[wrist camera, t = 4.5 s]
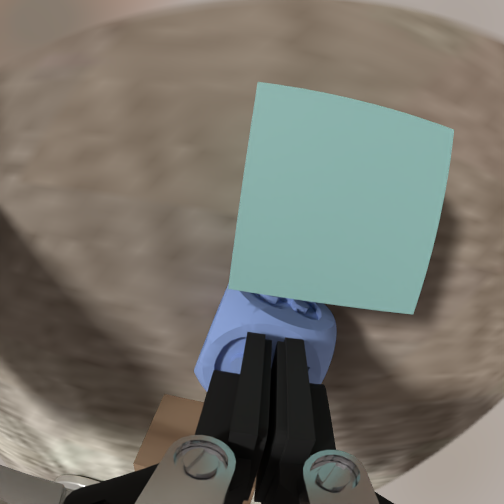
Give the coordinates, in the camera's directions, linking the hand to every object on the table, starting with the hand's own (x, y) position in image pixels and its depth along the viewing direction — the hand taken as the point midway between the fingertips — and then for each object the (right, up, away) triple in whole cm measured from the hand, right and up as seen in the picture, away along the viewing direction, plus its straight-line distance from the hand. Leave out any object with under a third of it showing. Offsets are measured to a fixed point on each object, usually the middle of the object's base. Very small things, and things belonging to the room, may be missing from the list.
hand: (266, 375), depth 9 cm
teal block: (+2, +6, +3) cm, 7 cm away
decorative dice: (0, +1, +5) cm, 5 cm away
